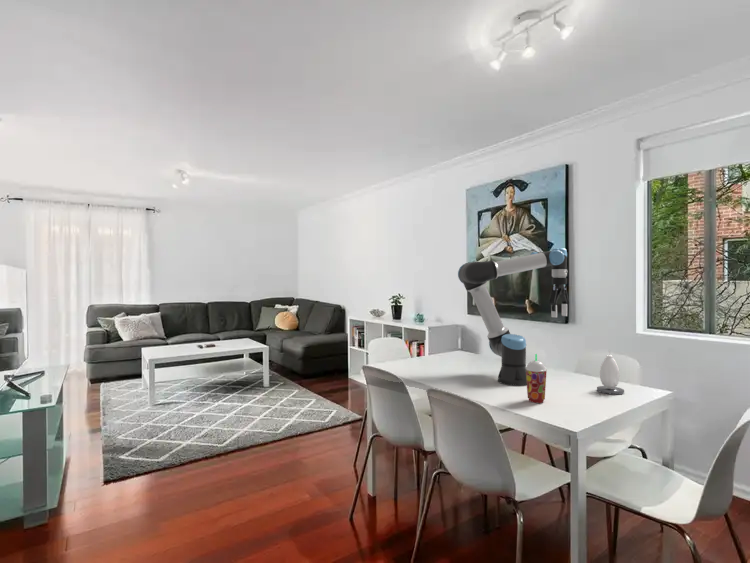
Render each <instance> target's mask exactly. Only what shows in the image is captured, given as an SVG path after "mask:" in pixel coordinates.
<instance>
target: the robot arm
mask: <svg viewBox="0 0 750 563" xmlns="http://www.w3.org/2000/svg"><path fill="white" fill-rule="evenodd" d="M547 267H551V277H552V278H551V285H552V286H551V293H550V297H549V302H548V303H549V304H548V305H549V306H550V311H551V313H550V317H551V318H558V305H557V303H558V300H559V298H560V300H561V316H562V317H568V305H570V299H569V296H568V295H569V294H568V290H567V288H568V287H567V284H568V278H567V277H568V273H569V272H568V252H567V249H566V248H563V247H561V248H552V249H551V250H548V251H540V252H539V251H535V252H531V253H530V254H528V255H523V256H518V257H514V258H513V257H512V258H508V259H503V260H497V261H495V260H487V261H472V262H471V261H469V262H466V263H464V264H463V263H462V265H461V266H460V267H459V269H458V271H457V278H458V280H459V281H460V283H462V284H463V286H464V288H465V290H466V292H469V293H470V295H471V297H472V298H473V302H474V303H475V305H476V308H477V310H478V313H479V315H480V317H481V318H482V321H483V322H484V325H485V328H486V329H487V330H486V331H487V332H488V334H487V340H488V341H489V342H488V347H489V349H490V351H491V352H492V353H493V354H495V355H496V356H498V357H501V367H500V370H499V373H498V376H497V382H498V383H500V384H503V385H507V386H516V387H517V386H518V387H521V386H527V380H526V367H527V340H526V338H525V336H523V335H519V334H518V335H517V334H515V333H514V334H513V333H511V332H510V330H509V328H508V327H505V325H504V323H503V322H502V320H501V317H500V315H499V313H498V310H497V308H496V306H495V304H494V303H495V302H493V299H492V297H491V295H490V293H489V290H488V288H487V284H488V282H489V281H492V280H493V281H494V280H497V279H498V277H502V276H507V275H512V274H516V273H517V274H518V273H524V272H527V271H528V272H529V271H531V270H536V269H537V270H538V269H541V268H547Z"/></svg>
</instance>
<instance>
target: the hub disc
mask: <svg viewBox="0 0 750 563" xmlns="http://www.w3.org/2000/svg"><path fill="white" fill-rule="evenodd" d="M596 391H597V392H599V393H600V394H601V393H602V394H606V395H617V396H618V395H624V394H625V390H624V389H623V388H622V387H617V386H616V387H614V388H612V389H607V388H606V387H605V386H604V385H598V386H596Z"/></svg>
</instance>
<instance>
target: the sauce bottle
mask: <svg viewBox="0 0 750 563" xmlns="http://www.w3.org/2000/svg"><path fill="white" fill-rule="evenodd" d="M620 376H621V375H620V369H619V366H618V364H617V361H616V360H615V358H614V356H613V355H612V354H611V350H610V349H609V350H608V354H607V355H605V358H604V359H603V361H602V363H601V365H600V369H599V379H600V382H601V384H602V386H605V387H606V388H607V389H612V388H614V387H617V386H618V384H619V382H620Z"/></svg>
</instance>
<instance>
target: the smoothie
mask: <svg viewBox="0 0 750 563" xmlns="http://www.w3.org/2000/svg"><path fill="white" fill-rule="evenodd" d="M534 355H535V357H534V360H532V361H529V363H528V364H526V380H527V385H526V390H527V391H526V394H527V399H528V401H529V402H531V403H534V404H542V403H543V402H544V400H546V387H547V385H546V382H547V370H548V369H547V368H546V366H545V364H544V363H543V362H541V361H540V360H538V355H537V353H536V354H534Z"/></svg>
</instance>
